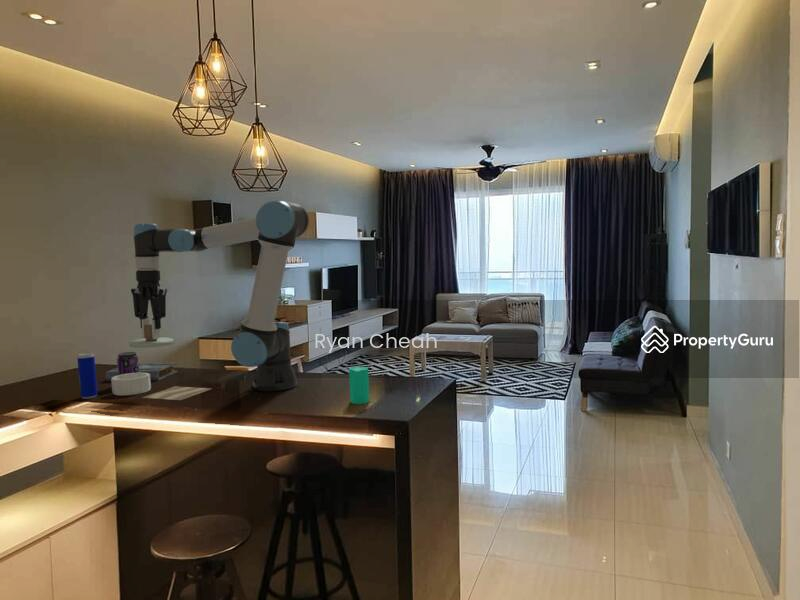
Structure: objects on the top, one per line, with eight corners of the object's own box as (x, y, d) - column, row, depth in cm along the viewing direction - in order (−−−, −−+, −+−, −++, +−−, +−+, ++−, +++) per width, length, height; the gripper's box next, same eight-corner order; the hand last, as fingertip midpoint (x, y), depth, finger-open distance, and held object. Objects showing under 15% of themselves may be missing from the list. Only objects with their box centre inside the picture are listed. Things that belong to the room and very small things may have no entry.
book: (105, 382, 230) (104, 370, 230) (129, 373, 246) (128, 361, 246) (157, 382, 228) (157, 369, 228) (178, 372, 244) (177, 360, 244)
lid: (182, 341, 208) (181, 322, 208) (153, 348, 195) (152, 328, 195) (150, 340, 213) (149, 321, 212) (119, 346, 200) (118, 326, 199)
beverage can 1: (84, 395, 208) (81, 353, 206) (100, 394, 208) (96, 352, 207) (78, 399, 202) (74, 355, 201) (93, 398, 203) (90, 354, 201)
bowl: (158, 389, 212) (157, 373, 212) (132, 398, 201) (131, 380, 201) (131, 388, 216) (130, 371, 216) (105, 396, 205) (103, 379, 205)
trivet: (212, 390, 208) (212, 388, 208) (180, 402, 193) (180, 400, 193) (175, 388, 213) (175, 386, 213) (141, 399, 198) (141, 397, 198)
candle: (346, 402, 185) (344, 364, 184) (358, 398, 190) (356, 360, 189) (361, 404, 182) (360, 365, 181) (373, 400, 187) (371, 362, 186)
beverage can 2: (132, 387, 218) (129, 355, 217) (114, 387, 219) (112, 355, 218) (144, 383, 225) (141, 351, 224) (127, 382, 226) (124, 351, 225)
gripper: (175, 269, 202) (178, 337, 205) (136, 269, 208) (140, 335, 210) (159, 270, 195) (163, 341, 198) (119, 270, 201) (123, 338, 203)
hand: (151, 338), depth 204 cm, fingers closed on lid, 4 cm apart
